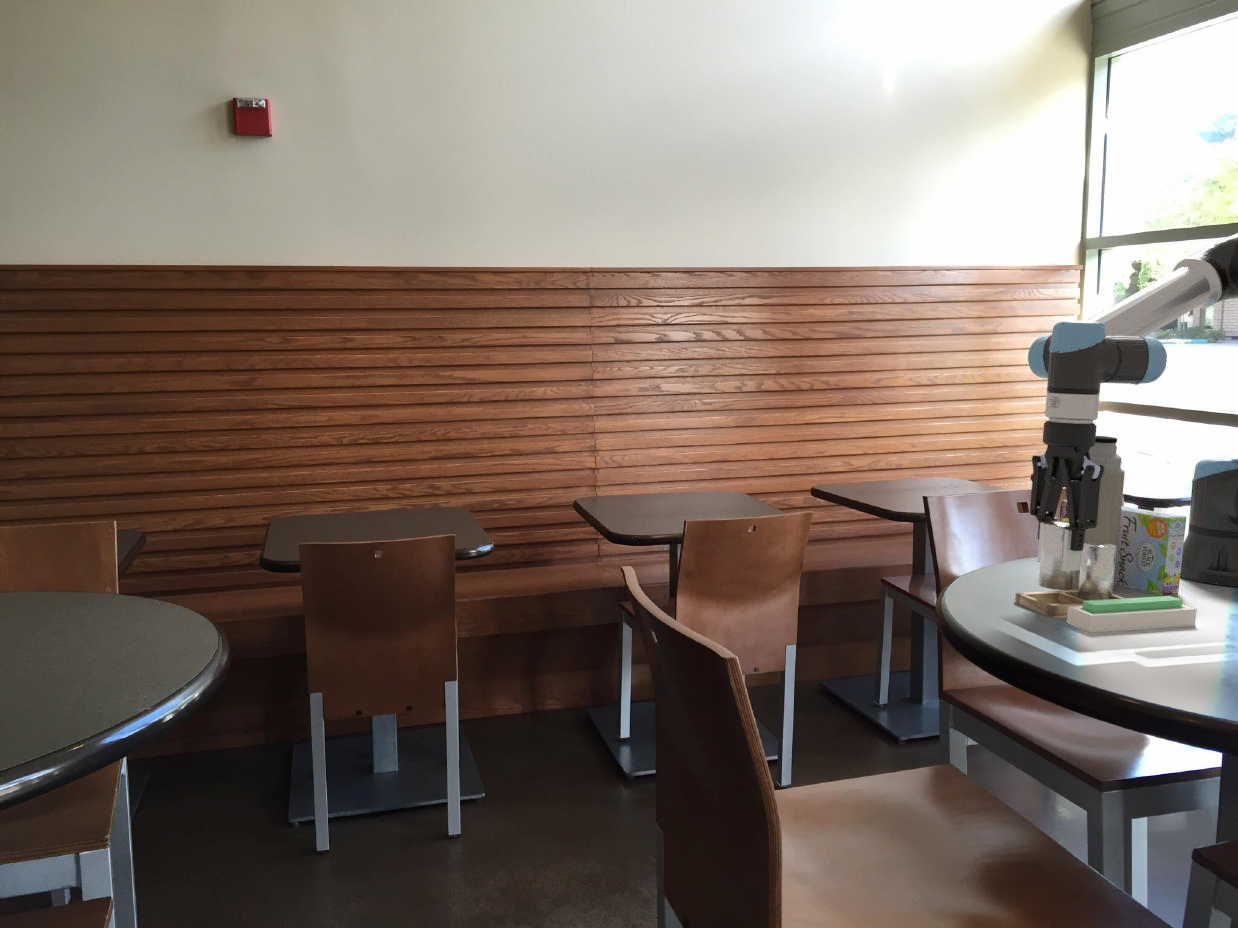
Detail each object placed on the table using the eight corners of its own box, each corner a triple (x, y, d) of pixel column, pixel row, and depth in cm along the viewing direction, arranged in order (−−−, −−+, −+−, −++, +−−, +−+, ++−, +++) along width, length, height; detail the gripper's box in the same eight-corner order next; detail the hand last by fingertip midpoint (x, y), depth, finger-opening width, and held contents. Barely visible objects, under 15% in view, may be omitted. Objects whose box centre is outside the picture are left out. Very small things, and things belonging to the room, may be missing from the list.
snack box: (1180, 601, 168) (1188, 515, 166) (1160, 604, 165) (1169, 517, 163) (1071, 574, 186) (1077, 496, 184) (1052, 577, 183) (1058, 498, 181)
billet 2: (1095, 600, 161) (1100, 541, 159) (1118, 608, 156) (1123, 547, 154) (1070, 602, 159) (1075, 542, 158) (1092, 610, 154) (1097, 548, 153)
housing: (1167, 625, 152) (1170, 600, 152) (1194, 634, 148) (1196, 609, 147) (1065, 631, 148) (1068, 606, 147) (1089, 641, 143) (1091, 615, 142)
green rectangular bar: (1167, 620, 151) (1169, 595, 150) (1179, 625, 148) (1182, 599, 148) (1080, 626, 147) (1083, 600, 146) (1092, 631, 144) (1094, 605, 144)
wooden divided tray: (1092, 604, 164) (1094, 587, 163) (1138, 621, 154) (1140, 603, 154) (1011, 609, 159) (1012, 591, 159) (1053, 627, 150) (1054, 608, 149)
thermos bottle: (1106, 590, 174) (1119, 435, 170) (1119, 602, 166) (1134, 439, 162) (1058, 587, 175) (1071, 433, 172) (1069, 598, 167) (1083, 437, 164)
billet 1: (1058, 581, 158) (1063, 521, 157) (1079, 589, 153) (1085, 527, 152) (1031, 582, 157) (1036, 521, 156) (1052, 590, 152) (1057, 527, 151)
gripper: (1012, 416, 159) (1001, 554, 162) (1092, 425, 142) (1078, 580, 145) (1051, 416, 161) (1039, 553, 164) (1134, 426, 144) (1119, 578, 147)
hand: (1057, 565), depth 155 cm, fingers closed on billet 1, 5 cm apart
